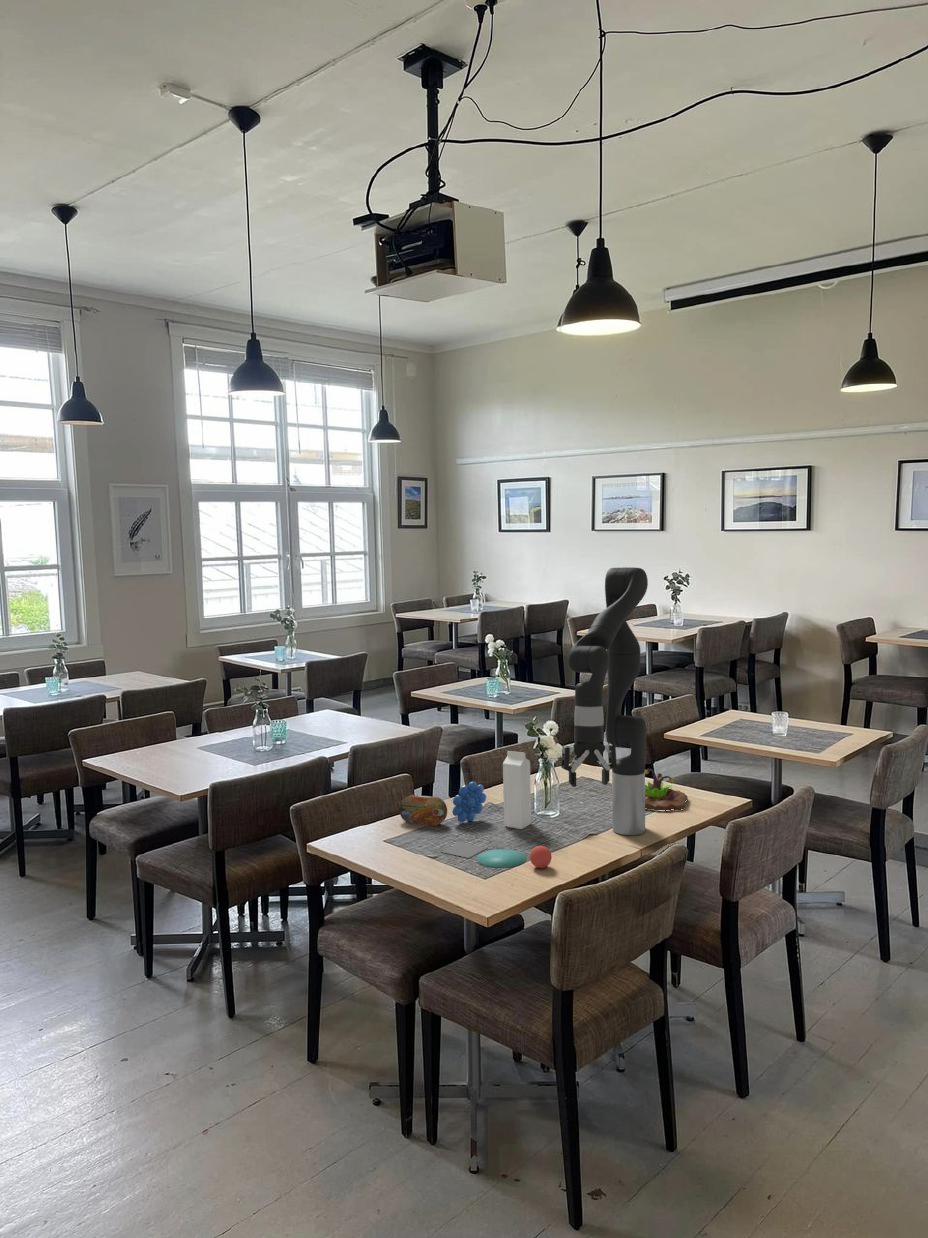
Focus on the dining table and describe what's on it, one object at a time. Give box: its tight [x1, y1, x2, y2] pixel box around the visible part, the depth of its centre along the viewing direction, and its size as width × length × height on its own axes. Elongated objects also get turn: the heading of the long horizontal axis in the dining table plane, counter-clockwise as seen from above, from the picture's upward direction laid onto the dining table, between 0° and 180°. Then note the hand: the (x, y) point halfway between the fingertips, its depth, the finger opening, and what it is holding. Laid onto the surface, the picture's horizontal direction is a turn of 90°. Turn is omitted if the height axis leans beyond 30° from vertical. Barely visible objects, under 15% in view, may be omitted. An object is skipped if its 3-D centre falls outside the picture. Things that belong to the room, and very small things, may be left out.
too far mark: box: [440, 841, 488, 859], centre depth 236 cm, size 9×9×1 cm
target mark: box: [476, 848, 527, 869], centre depth 229 cm, size 13×13×1 cm
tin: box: [398, 794, 448, 827], centre depth 260 cm, size 15×3×8 cm, turn 68°
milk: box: [502, 750, 532, 830], centre depth 256 cm, size 6×6×22 cm
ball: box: [529, 845, 552, 869], centre depth 222 cm, size 6×6×6 cm
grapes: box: [452, 781, 487, 823], centre depth 262 cm, size 12×7×12 cm, turn 120°
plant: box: [645, 768, 688, 811], centre depth 276 cm, size 20×20×11 cm
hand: (589, 785), depth 225 cm, fingers open, 8 cm apart
